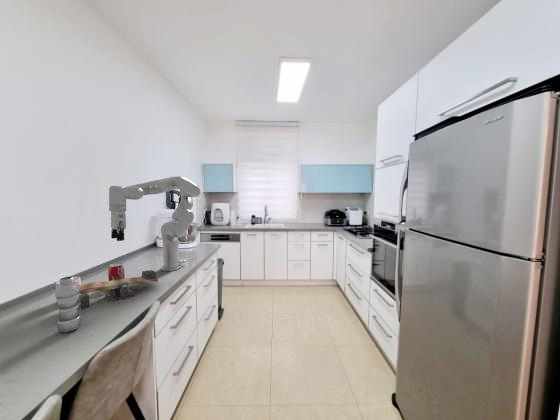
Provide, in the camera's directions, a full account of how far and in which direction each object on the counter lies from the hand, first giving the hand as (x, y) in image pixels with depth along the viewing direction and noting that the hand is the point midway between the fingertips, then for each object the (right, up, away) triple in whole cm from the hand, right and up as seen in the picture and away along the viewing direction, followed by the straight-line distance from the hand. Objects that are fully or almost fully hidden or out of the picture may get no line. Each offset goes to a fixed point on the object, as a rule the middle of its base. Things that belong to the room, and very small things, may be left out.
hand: (117, 239), depth 119 cm
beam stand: (+6, -27, -15) cm, 31 cm away
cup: (-10, -27, -15) cm, 33 cm away
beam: (+10, -21, -11) cm, 25 cm away
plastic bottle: (+11, -29, -38) cm, 49 cm away
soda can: (0, -26, 0) cm, 26 cm away
